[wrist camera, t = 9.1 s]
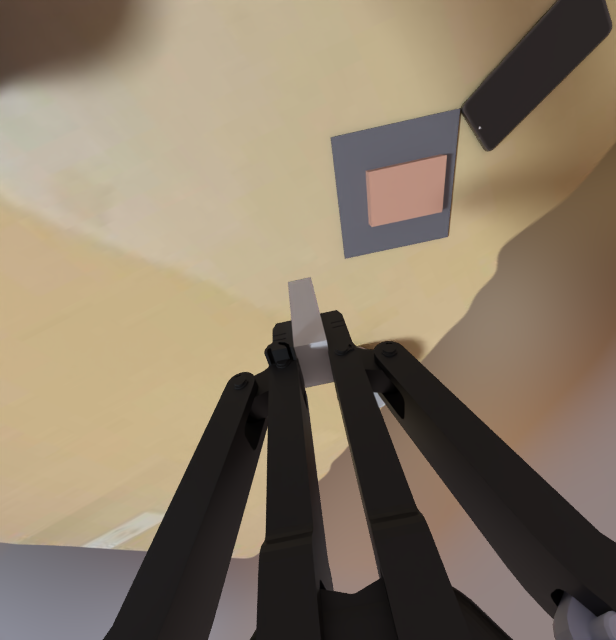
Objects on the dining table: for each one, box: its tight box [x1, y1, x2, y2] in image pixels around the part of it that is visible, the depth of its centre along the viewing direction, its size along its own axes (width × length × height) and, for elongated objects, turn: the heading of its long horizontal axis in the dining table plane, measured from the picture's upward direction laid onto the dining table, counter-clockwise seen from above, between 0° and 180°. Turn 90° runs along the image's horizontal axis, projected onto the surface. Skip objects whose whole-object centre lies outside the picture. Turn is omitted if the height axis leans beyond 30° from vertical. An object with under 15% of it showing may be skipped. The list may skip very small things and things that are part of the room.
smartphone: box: [461, 0, 612, 151], centre depth 33 cm, size 7×1×16 cm
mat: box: [331, 109, 460, 259], centre depth 39 cm, size 16×16×1 cm
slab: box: [366, 154, 447, 227], centre depth 38 cm, size 7×2×10 cm
